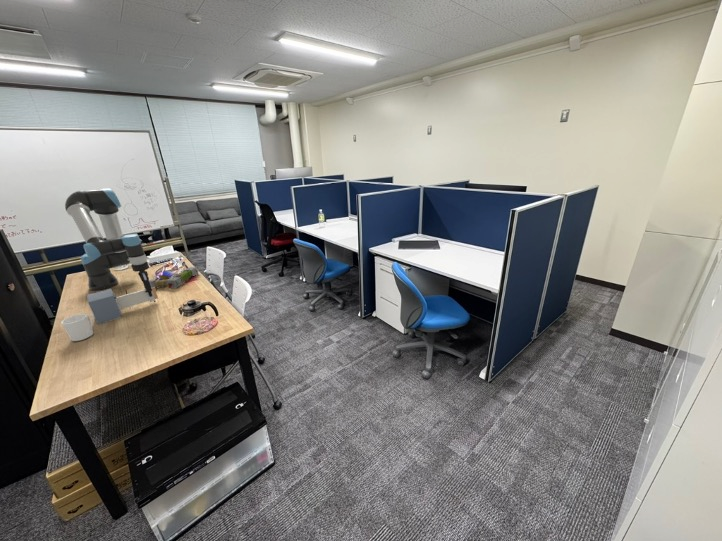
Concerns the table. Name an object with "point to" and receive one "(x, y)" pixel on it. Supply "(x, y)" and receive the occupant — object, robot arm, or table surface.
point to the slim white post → (134, 298)
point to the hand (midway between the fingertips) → (152, 300)
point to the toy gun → (174, 279)
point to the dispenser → (104, 306)
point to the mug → (78, 327)
